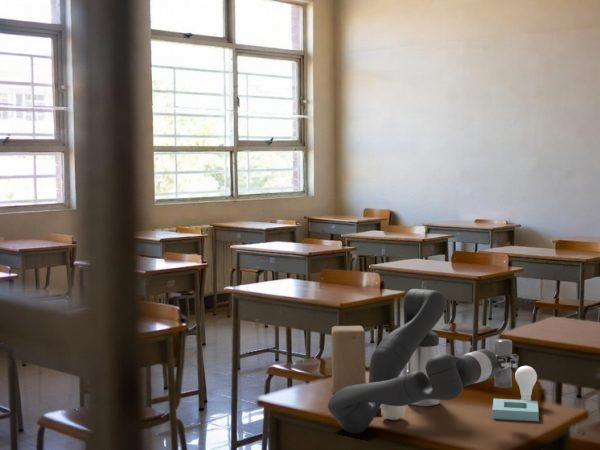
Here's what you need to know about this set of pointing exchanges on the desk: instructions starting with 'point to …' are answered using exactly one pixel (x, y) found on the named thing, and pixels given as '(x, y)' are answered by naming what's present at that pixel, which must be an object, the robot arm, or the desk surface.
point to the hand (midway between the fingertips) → (507, 356)
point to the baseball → (393, 411)
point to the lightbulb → (526, 381)
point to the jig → (515, 409)
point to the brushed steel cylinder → (505, 375)
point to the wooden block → (348, 356)
